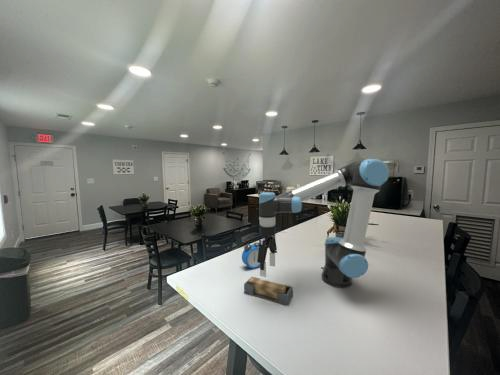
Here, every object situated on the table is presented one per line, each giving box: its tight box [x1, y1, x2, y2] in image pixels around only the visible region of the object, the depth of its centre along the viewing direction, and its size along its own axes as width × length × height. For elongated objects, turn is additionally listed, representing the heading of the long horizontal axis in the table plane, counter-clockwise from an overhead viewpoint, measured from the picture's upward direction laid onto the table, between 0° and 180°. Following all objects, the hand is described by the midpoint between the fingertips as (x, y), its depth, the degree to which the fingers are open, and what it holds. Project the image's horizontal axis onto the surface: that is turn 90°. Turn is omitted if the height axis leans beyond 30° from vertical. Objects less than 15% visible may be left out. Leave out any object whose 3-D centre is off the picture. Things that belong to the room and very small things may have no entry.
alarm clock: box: [241, 242, 260, 270], centre depth 126 cm, size 13×6×15 cm, turn 119°
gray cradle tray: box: [243, 276, 294, 307], centre depth 96 cm, size 22×8×5 cm, turn 62°
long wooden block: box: [247, 276, 287, 299], centre depth 97 cm, size 18×4×5 cm, turn 62°
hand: (267, 270), depth 96 cm, fingers open, 11 cm apart
